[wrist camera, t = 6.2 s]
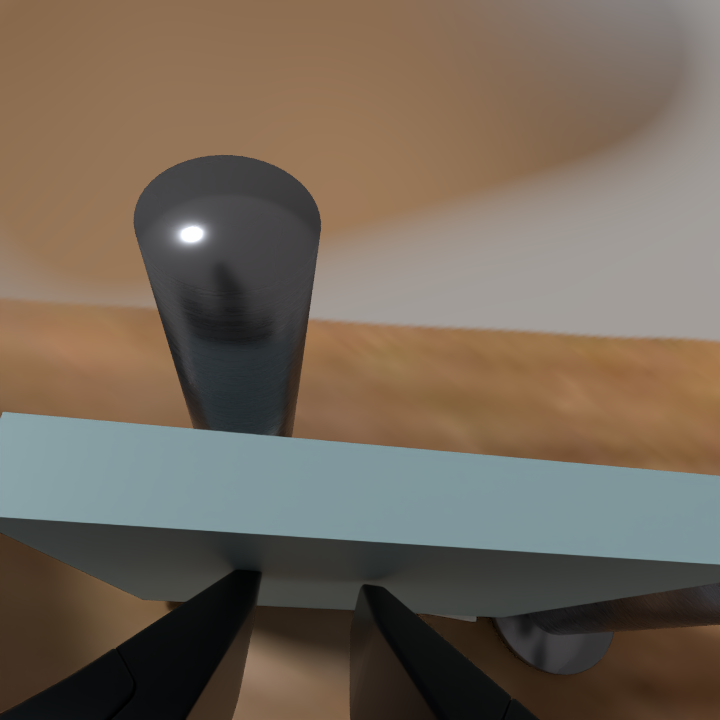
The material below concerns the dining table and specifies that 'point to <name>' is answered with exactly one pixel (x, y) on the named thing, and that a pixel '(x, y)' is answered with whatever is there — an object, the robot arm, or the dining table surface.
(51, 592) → the dining table surface
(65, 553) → the gate
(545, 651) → the hinge post
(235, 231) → the post
